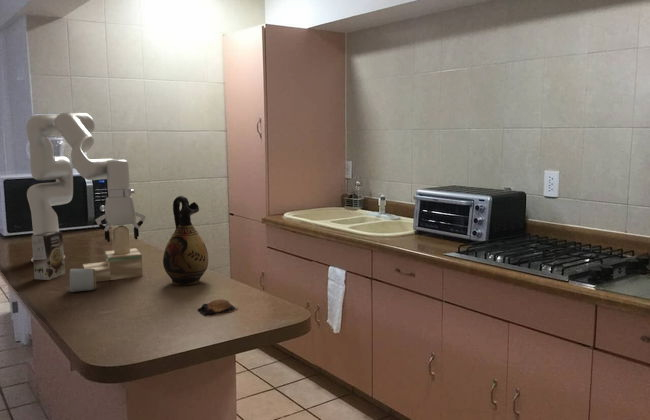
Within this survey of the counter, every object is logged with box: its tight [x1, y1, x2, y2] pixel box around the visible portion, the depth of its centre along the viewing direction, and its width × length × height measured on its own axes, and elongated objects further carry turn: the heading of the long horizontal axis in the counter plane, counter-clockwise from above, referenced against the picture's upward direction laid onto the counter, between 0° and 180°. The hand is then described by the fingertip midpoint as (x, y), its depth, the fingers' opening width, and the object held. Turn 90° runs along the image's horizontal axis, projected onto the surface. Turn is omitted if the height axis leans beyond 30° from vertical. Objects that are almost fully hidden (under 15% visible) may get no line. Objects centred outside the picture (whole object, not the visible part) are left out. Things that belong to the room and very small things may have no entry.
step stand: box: [82, 247, 144, 283], centre depth 209 cm, size 13×19×8 cm
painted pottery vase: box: [162, 195, 209, 287], centre depth 197 cm, size 17×15×30 cm
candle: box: [112, 225, 131, 254], centre depth 209 cm, size 6×6×10 cm
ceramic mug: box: [69, 268, 97, 293], centre depth 191 cm, size 11×8×8 cm
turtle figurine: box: [197, 298, 239, 317], centre depth 168 cm, size 11×8×4 cm
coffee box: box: [31, 231, 66, 281], centre depth 207 cm, size 9×6×16 cm
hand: (122, 240), depth 209 cm, fingers open, 9 cm apart
